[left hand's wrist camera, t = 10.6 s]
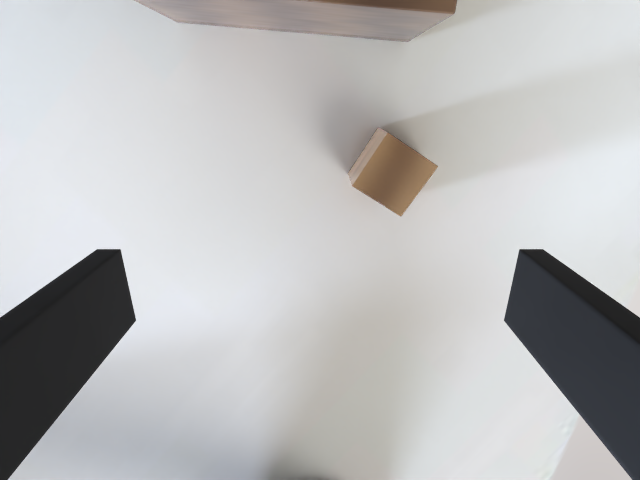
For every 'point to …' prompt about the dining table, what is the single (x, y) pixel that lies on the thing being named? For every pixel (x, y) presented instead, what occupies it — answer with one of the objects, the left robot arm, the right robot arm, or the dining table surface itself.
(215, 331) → the dining table surface
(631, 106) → the dining table surface
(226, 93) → the dining table surface
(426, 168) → the block
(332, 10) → the chest
